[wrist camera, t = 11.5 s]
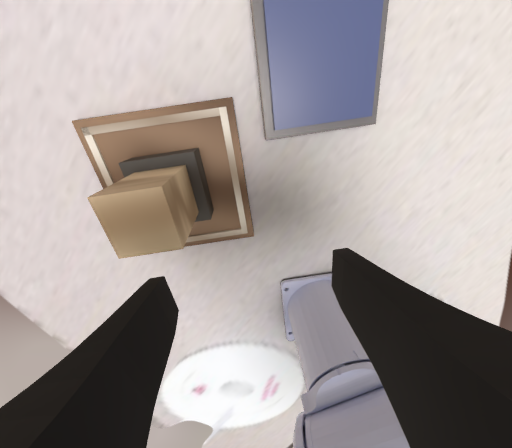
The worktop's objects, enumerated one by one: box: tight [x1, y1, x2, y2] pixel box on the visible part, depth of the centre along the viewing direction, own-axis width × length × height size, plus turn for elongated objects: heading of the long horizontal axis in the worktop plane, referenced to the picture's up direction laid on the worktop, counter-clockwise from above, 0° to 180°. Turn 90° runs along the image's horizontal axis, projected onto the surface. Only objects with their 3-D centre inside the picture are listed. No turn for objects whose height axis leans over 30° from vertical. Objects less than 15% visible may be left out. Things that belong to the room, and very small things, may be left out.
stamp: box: [88, 148, 214, 259], centre depth 14 cm, size 5×5×7 cm
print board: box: [72, 97, 254, 247], centre depth 17 cm, size 11×11×1 cm
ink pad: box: [251, 0, 389, 140], centre depth 14 cm, size 8×8×2 cm
